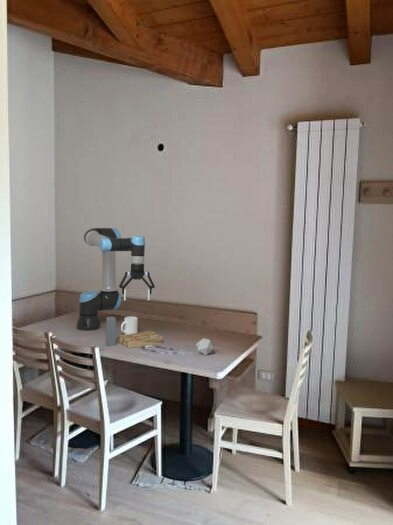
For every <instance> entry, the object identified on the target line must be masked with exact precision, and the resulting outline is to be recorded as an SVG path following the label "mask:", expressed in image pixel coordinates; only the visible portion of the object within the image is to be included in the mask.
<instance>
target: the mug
mask: <svg viewBox="0 0 393 525" xmlns="http://www.w3.org/2000/svg"><path fill="white" fill-rule="evenodd" d="M138 319H139V318H138V317H137V316H124V321H122V323H121V325H120V331H121V333H122V334H123V335H126V334H133V333H138V326H139V325H138V324H139V323H138V321H139V320H138Z"/></svg>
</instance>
